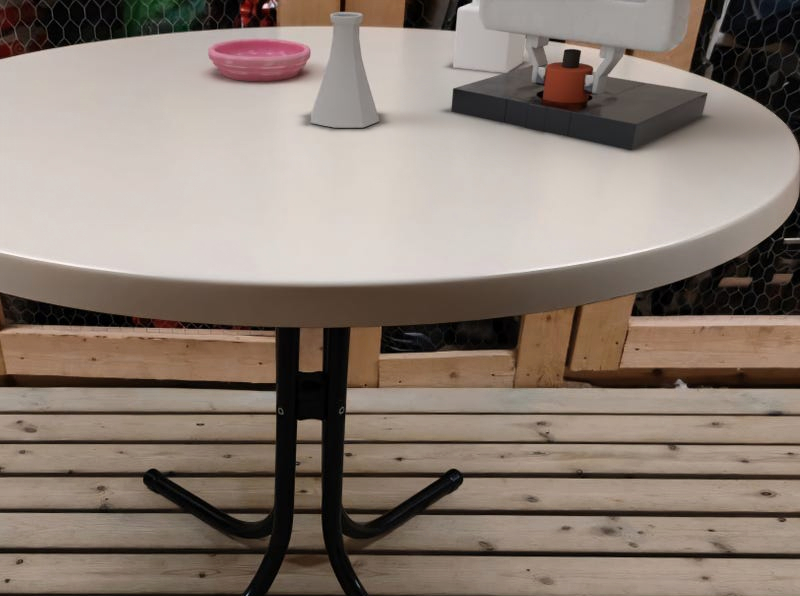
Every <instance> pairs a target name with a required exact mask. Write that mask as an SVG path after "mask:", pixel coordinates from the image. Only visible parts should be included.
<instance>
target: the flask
mask: <svg viewBox="0 0 800 596" xmlns="http://www.w3.org/2000/svg"><path fill="white" fill-rule="evenodd" d="M329 16H330V17H329V18H330V22H331V23H332V38H331V39H332V41H331V45H330V52H329V58H328V61H327V65H326V67H325V71H324V74H323V77H322V80H321V83H320V87H319V89H318V93H317V95H316V99H315V101H314V104H313V107H312V109H311V113H310V124H314V125H319V126H325V127H329V128H334V129H335V128H345V129H347V128H349V129H351V128H354V129H355V128H360V129H361V128H363V129H364V128H366V127H369V126H371V125H374V124H376V123H379V122H380V119H379V115H378V111H377V108H376V103H375V100H374V97H373V93H372V91H371V87H370V84H369V80H368V76H367V72H366V69H365V65H364V61H363V56H362V48H361V42H360V40H361V39H360V25H361V23H362V22H363V19H364V17H363V16H364V15H363V13H361V12H354V11H338V12H333V13H329Z"/></svg>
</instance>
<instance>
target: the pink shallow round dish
mask: <svg viewBox="0 0 800 596" xmlns="http://www.w3.org/2000/svg"><path fill="white" fill-rule="evenodd" d="M207 50H208V51H207V55H208V57H209V58H208V59H210V60H211V62H212V64H213V65H214V66H215V67H216V68H218V69H219V71H220V73H221V75H223V76H224V77H225V78H227V79H228V78H229V79H232V80H235V81H242V82H243V81H244V82H276V81H283V80H287V79H291V78H294V77H296V76H298V75H299V73H300V71H301V69H302V68H304V67H305V66H306V65H307V62H308V61H309V59H310V58H311V48H310V47H309V46H308V45H307V44H304V43H301V42H297V41H293V40H285V39H277V38H242V39H233V40H225V41H220V42H217V43H214V44H212V45H210V46H209V47H208V49H207Z"/></svg>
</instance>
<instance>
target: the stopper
mask: <svg viewBox="0 0 800 596" xmlns="http://www.w3.org/2000/svg"><path fill="white" fill-rule="evenodd" d="M581 55H582V50H580V49H577V48H567V49H564V50H563V55H562V61H560V62H557V61H556V62H551V63H548V64H549V65H547V71H546V78H545V85H544V92H543V99H544V100H548V101H554V102H564V103H579V102H587V101H588V98H589V94H588V93H584V92H583V87H584V86H585V82H584V81H585V75H586V74H590V73H592V72H594V67H593V66H592V65H589V64H586V63H581V62H580V61H581Z"/></svg>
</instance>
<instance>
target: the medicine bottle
mask: <svg viewBox="0 0 800 596" xmlns="http://www.w3.org/2000/svg"><path fill="white" fill-rule="evenodd" d="M479 6H480V0H472V1H471V2H470V3H467V4H464V5H463V6H460V7H458V8H457V12H456V23H455V36H454V48H453V60H452V61H453V62H452V67H453V69H462V70H470V71H471V70H472V71H480V72H491V73H500V74H504V73H507V72H511V71H513V69H516V68H517V67H518V66H520V65H521V64H523V62H524V55H525V44H526V36H527V35H523V34H516V33H509V32H502V31H494V30H487V29H485V28H484V26H483V25H482V22H481V20H480V18H479Z"/></svg>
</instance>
